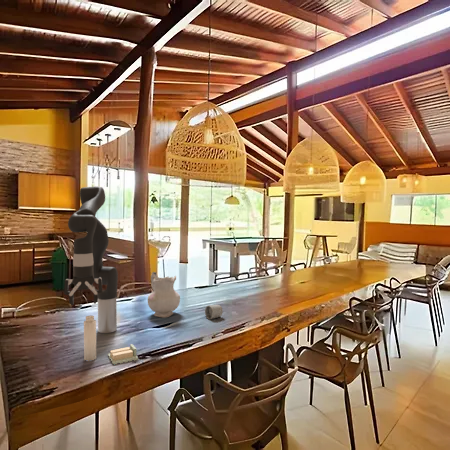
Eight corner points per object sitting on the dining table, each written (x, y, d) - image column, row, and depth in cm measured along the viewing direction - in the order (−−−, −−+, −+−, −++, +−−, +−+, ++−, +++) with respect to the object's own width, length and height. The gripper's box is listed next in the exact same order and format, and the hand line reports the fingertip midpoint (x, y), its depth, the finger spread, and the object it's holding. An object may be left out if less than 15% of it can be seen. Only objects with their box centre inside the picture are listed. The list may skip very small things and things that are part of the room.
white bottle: (83, 357, 149) (82, 316, 148) (95, 355, 151) (94, 314, 151) (85, 362, 145) (84, 319, 144) (97, 359, 147) (96, 317, 146)
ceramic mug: (223, 317, 205) (223, 304, 205) (212, 320, 200) (212, 307, 199) (212, 313, 213) (212, 301, 213) (201, 316, 208) (201, 303, 207)
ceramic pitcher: (138, 317, 209) (135, 276, 206) (158, 306, 226) (156, 268, 223) (167, 322, 199) (165, 280, 196) (186, 311, 216) (185, 271, 213)
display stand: (108, 356, 151) (107, 346, 151) (131, 351, 156) (131, 342, 156) (113, 364, 142) (113, 355, 142) (137, 359, 147) (137, 350, 147)
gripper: (62, 266, 136) (63, 307, 137) (101, 265, 140) (101, 305, 141) (65, 263, 143) (66, 302, 144) (102, 262, 147) (102, 300, 148)
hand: (83, 304), depth 142 cm, fingers open, 8 cm apart
